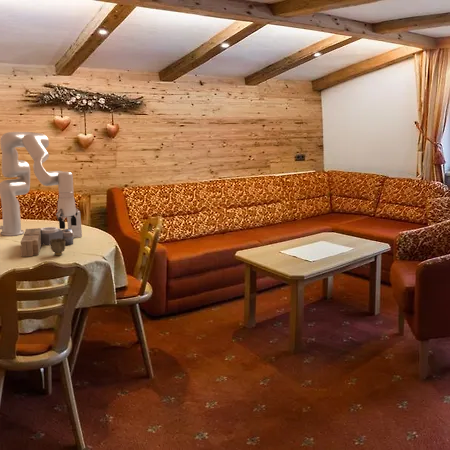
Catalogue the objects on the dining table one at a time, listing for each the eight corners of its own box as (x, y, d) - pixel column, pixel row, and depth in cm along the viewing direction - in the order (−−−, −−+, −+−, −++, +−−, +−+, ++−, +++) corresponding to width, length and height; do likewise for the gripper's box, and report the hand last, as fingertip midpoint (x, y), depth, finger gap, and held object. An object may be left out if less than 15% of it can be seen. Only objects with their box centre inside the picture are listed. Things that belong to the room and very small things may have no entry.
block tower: (38, 257, 247) (42, 242, 275) (37, 240, 246) (41, 227, 273) (21, 258, 245) (26, 242, 273) (20, 241, 243) (25, 227, 271)
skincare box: (82, 237, 290) (81, 211, 288) (71, 238, 287) (70, 212, 284) (77, 234, 297) (76, 209, 294) (67, 235, 294) (66, 210, 291)
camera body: (35, 243, 273) (34, 230, 271) (50, 239, 284) (49, 226, 282) (49, 245, 270) (48, 231, 268) (63, 240, 281) (63, 227, 279)
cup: (52, 253, 253) (51, 237, 252) (67, 253, 254) (67, 237, 252) (48, 257, 246) (48, 241, 244) (64, 257, 247) (63, 241, 245)
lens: (61, 244, 271) (60, 230, 269) (67, 242, 276) (66, 228, 274) (70, 245, 269) (69, 231, 267) (76, 243, 274) (75, 229, 272)
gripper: (70, 193, 277) (72, 223, 280) (49, 197, 261) (51, 229, 264) (82, 193, 274) (83, 224, 277) (61, 197, 258) (63, 230, 261)
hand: (68, 227), depth 270 cm, fingers open, 9 cm apart
